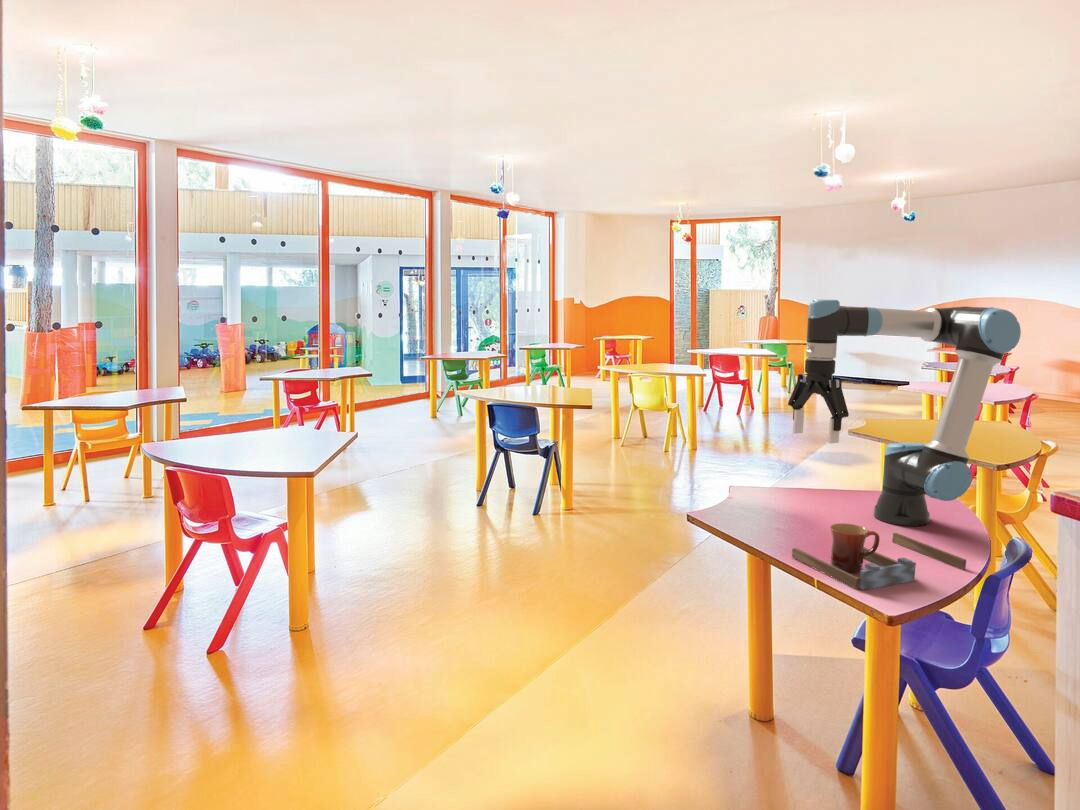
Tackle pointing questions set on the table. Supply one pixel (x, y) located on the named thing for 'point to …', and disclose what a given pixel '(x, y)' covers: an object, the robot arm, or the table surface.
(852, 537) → the mug
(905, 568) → the bar
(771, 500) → the table surface
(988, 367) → the robot arm
